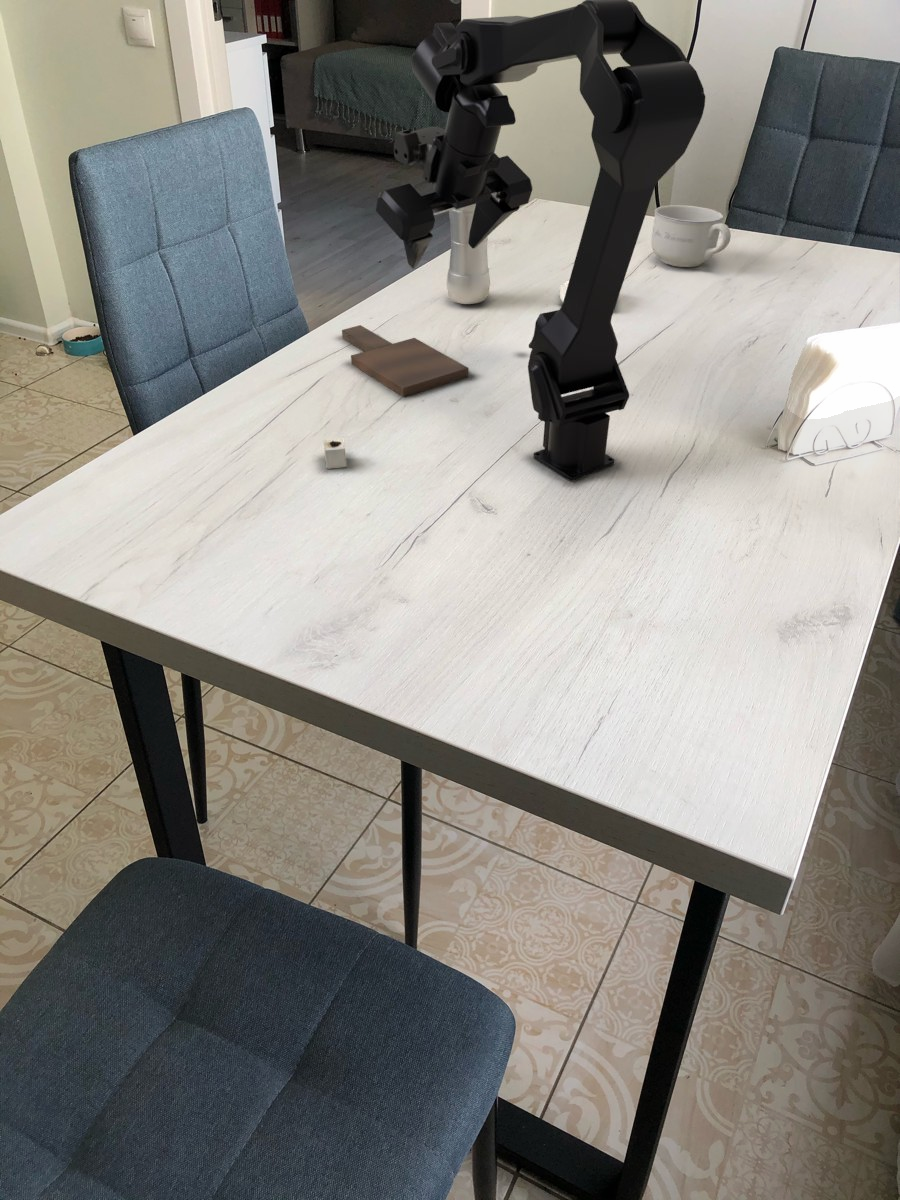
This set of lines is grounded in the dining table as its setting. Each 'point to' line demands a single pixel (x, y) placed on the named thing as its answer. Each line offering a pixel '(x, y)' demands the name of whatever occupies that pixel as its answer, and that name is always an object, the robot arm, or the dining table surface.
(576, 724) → the dining table surface
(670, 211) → the teacup
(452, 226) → the silver bottle
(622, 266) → the robot arm
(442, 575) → the dining table surface
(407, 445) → the dining table surface
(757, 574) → the dining table surface
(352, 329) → the paddle
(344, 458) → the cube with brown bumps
